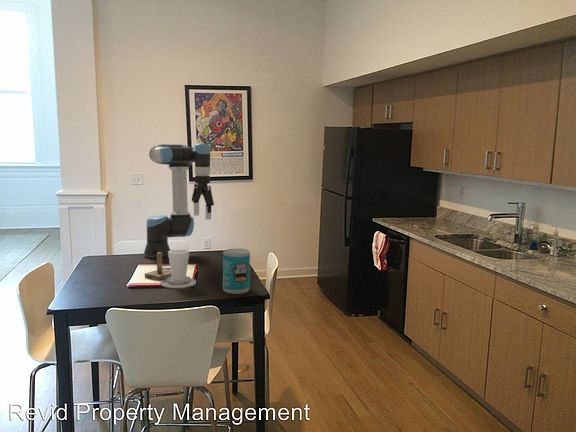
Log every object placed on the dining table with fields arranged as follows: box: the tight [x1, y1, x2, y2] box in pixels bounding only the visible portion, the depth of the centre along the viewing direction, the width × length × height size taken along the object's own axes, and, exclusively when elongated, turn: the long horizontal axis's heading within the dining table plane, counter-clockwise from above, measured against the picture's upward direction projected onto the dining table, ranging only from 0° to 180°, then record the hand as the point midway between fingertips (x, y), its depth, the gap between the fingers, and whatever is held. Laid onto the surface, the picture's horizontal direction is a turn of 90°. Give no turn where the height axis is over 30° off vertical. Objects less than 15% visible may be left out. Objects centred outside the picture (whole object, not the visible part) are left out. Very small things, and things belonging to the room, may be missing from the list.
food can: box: [222, 248, 251, 295], centre depth 215 cm, size 12×12×18 cm
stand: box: [144, 252, 171, 282], centre depth 233 cm, size 10×10×12 cm
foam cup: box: [167, 248, 190, 280], centre depth 222 cm, size 10×9×13 cm
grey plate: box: [160, 275, 197, 290], centre depth 223 cm, size 16×16×2 cm
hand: (202, 217), depth 240 cm, fingers open, 13 cm apart
